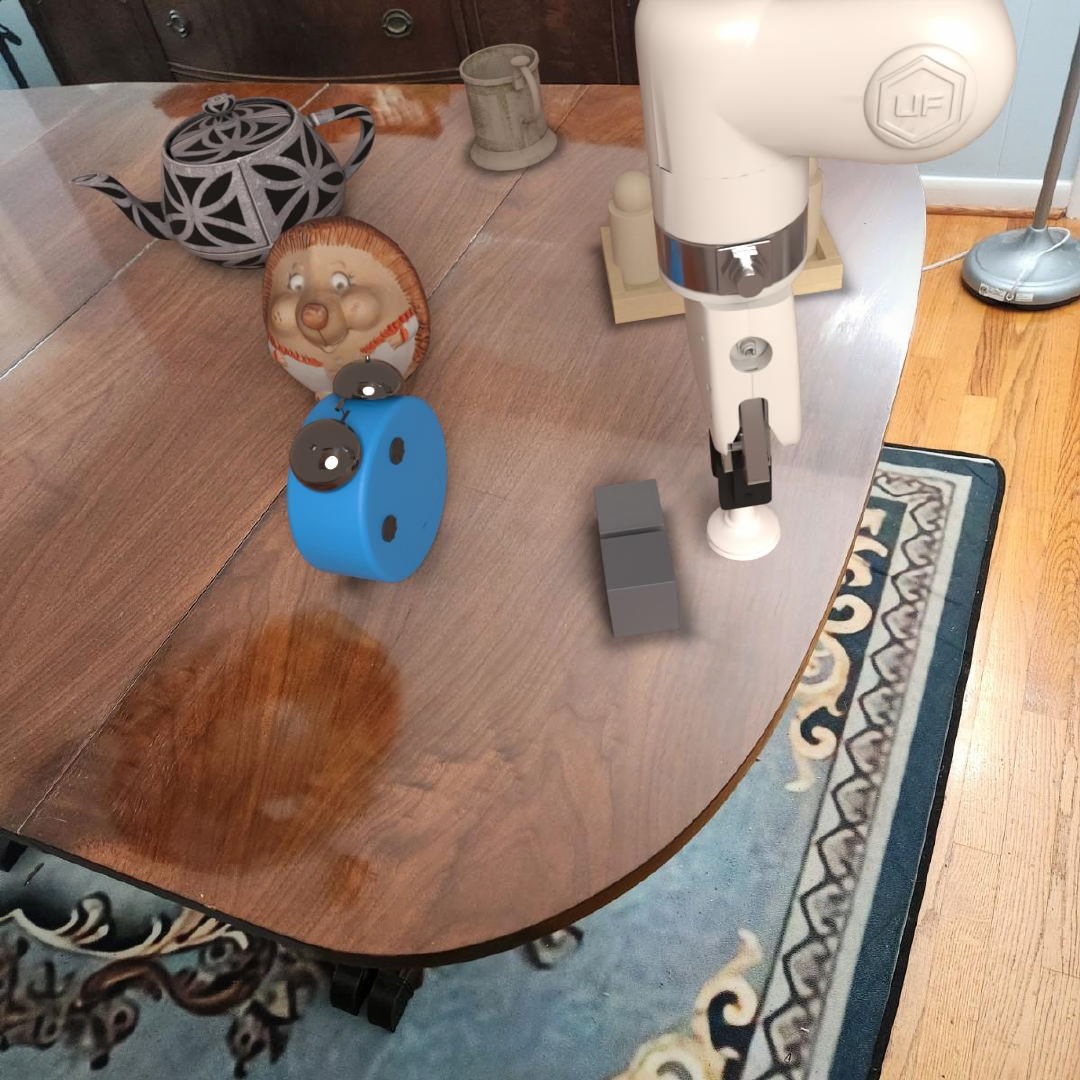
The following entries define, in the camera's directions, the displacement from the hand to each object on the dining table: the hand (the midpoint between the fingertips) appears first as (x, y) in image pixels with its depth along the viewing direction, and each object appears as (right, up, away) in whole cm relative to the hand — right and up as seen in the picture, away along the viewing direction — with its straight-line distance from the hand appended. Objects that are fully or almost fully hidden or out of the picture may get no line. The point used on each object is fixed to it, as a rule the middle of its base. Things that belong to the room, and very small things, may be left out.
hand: (741, 486), depth 64 cm
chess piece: (+1, -3, +3) cm, 5 cm away
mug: (-15, +39, +48) cm, 64 cm away
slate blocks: (-6, -6, +6) cm, 11 cm away
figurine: (-29, +11, +26) cm, 40 cm away
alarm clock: (-24, -4, +12) cm, 27 cm away
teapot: (-43, +29, +45) cm, 69 cm away
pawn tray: (+3, +22, +29) cm, 36 cm away
